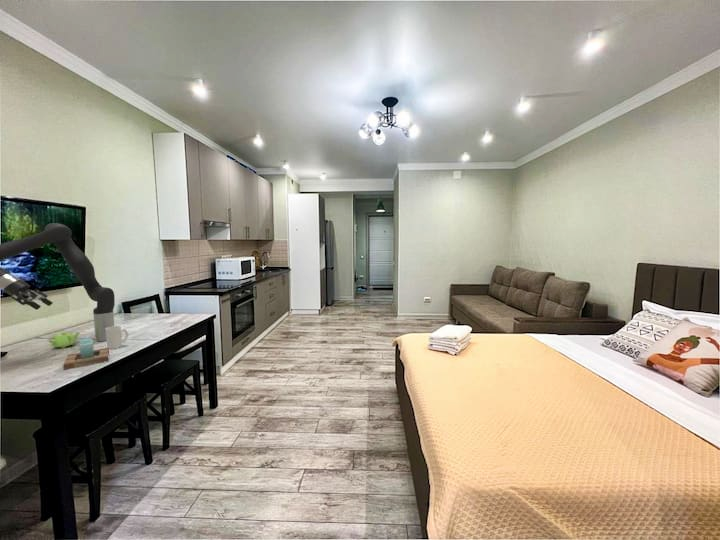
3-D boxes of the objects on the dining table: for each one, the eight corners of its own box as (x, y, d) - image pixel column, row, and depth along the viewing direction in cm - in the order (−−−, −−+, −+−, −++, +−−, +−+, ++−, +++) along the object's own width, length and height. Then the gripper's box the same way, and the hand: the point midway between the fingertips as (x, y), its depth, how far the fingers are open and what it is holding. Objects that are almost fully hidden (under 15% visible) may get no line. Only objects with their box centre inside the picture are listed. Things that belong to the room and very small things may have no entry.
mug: (104, 350, 159) (103, 329, 158) (109, 346, 165) (108, 326, 164) (126, 347, 163) (125, 327, 162) (130, 344, 169) (129, 324, 168)
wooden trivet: (68, 359, 147) (67, 354, 147) (108, 351, 157) (108, 347, 157) (63, 369, 135) (63, 365, 135) (108, 361, 145) (107, 356, 145)
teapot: (75, 347, 163) (74, 333, 162) (47, 351, 156) (45, 336, 156) (81, 341, 172) (80, 328, 171) (54, 345, 166) (53, 331, 165)
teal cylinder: (81, 360, 146) (80, 339, 145) (94, 357, 149) (92, 337, 148) (80, 363, 143) (79, 342, 141) (93, 360, 146) (92, 340, 145)
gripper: (6, 281, 131) (41, 303, 136) (29, 277, 144) (60, 298, 150) (-8, 293, 130) (27, 315, 135) (16, 288, 143) (48, 308, 148)
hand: (45, 306), depth 142 cm, fingers open, 8 cm apart
